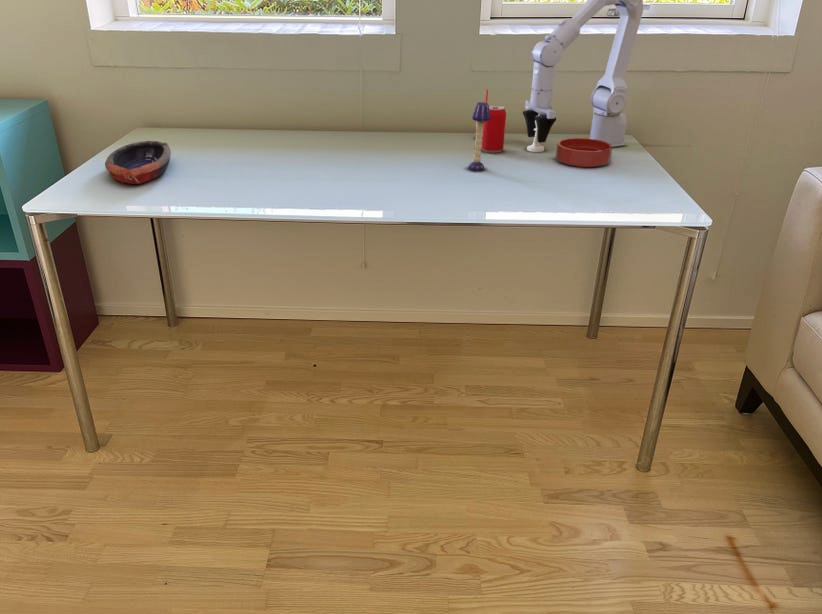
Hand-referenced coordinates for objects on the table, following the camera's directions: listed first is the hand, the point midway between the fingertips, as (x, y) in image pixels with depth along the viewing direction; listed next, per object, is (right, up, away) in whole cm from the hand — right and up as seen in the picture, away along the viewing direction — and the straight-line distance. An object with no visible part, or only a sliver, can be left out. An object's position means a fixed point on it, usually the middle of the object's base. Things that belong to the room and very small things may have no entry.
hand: (536, 139), depth 206 cm
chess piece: (0, -3, +2) cm, 3 cm away
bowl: (+11, -9, -9) cm, 16 cm away
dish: (-106, -14, -18) cm, 109 cm away
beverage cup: (-13, +4, +12) cm, 19 cm away
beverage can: (-13, -3, 0) cm, 13 cm away
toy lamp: (-19, -13, -15) cm, 27 cm away
